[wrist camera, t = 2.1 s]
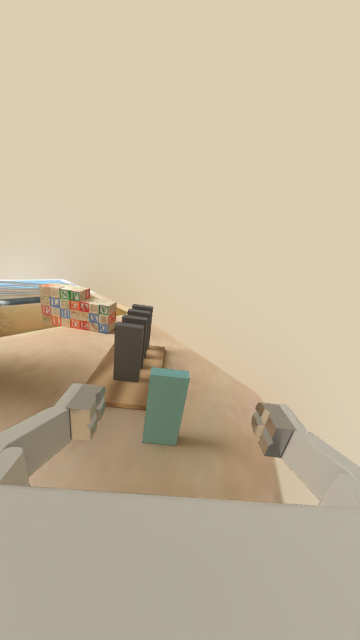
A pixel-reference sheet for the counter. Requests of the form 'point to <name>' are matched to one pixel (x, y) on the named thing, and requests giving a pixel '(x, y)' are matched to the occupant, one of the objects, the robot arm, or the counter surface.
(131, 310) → the domino
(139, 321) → the domino
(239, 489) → the counter surface
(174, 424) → the domino
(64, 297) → the stack of blocks
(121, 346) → the domino
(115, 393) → the oak board
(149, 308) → the domino
